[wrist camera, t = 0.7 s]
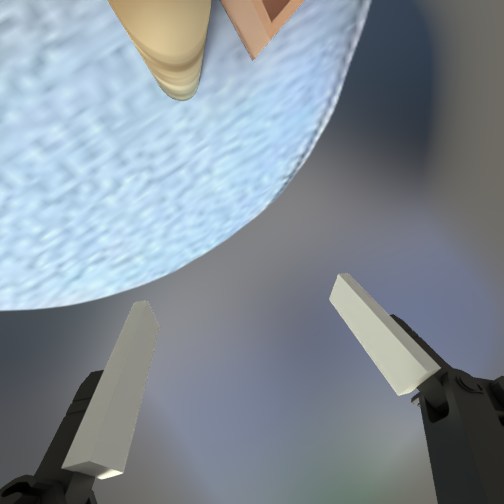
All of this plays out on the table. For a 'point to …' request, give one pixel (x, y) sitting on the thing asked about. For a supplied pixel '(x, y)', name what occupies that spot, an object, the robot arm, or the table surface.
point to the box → (259, 20)
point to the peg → (168, 39)
